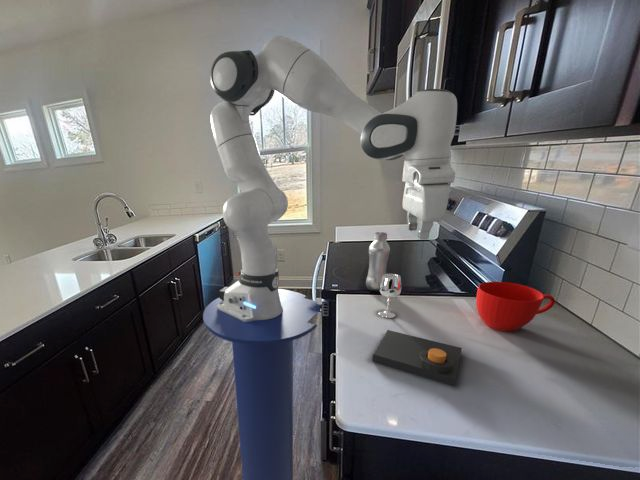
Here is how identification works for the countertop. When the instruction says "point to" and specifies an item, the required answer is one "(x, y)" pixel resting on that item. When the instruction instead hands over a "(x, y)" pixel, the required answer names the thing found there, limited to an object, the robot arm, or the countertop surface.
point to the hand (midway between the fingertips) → (417, 234)
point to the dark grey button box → (417, 356)
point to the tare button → (437, 355)
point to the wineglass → (390, 291)
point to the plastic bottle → (377, 261)
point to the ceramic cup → (509, 304)
